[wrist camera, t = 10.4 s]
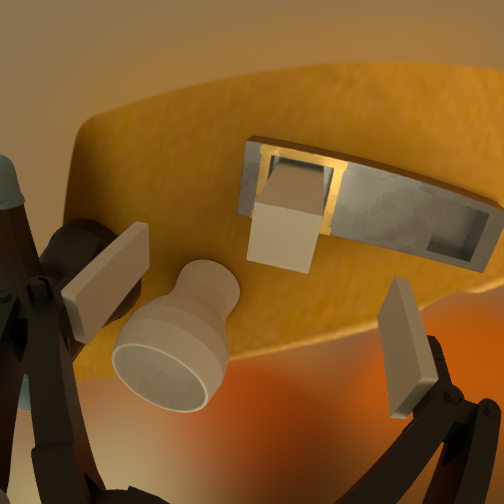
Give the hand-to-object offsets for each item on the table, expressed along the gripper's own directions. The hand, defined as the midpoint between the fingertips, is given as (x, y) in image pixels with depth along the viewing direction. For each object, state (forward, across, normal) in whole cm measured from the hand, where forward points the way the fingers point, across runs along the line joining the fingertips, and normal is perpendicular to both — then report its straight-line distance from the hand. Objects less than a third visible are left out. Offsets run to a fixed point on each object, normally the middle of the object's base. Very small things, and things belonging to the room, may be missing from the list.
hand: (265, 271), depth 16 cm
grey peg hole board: (+16, +9, 0) cm, 18 cm away
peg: (+16, +1, 0) cm, 16 cm away
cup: (+17, -7, -15) cm, 24 cm away
